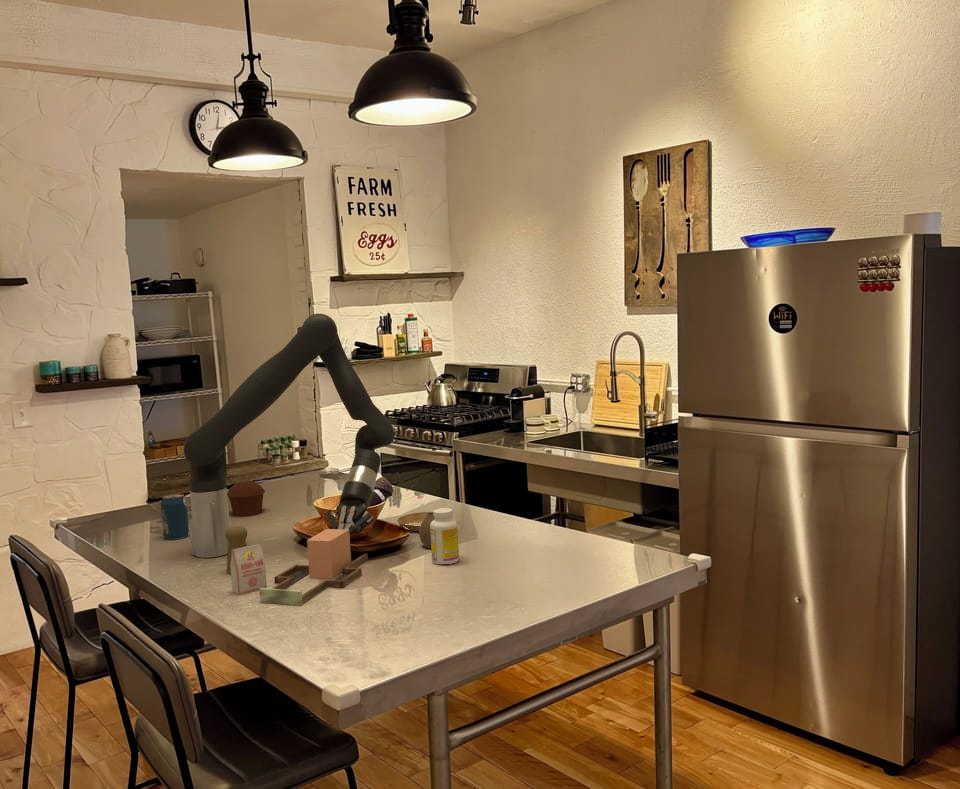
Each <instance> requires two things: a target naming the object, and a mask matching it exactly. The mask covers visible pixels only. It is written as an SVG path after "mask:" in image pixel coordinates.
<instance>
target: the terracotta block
mask: <svg viewBox="0 0 960 789" xmlns="http://www.w3.org/2000/svg"><path fill="white" fill-rule="evenodd" d="M306 544H307V545H306V546H307V560H308V565H309V574H308V576H309V578H314V579H316V578H317V579H329V580H334V579H335V578H337V577H338V576H340V575H341V573H342V574H343V571H342V568H344V567H345V566H347V565H348V564H350V563H351V562H352V554H351V553H352V552H351V536H349V530H342V529H333V528H326V529H324V530H323V531H321V532H319V533H317V534H315V535H313V536H312V537H310V538H308V539H307V540H306Z"/></svg>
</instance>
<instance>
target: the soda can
mask: <svg viewBox="0 0 960 789" xmlns="http://www.w3.org/2000/svg"><path fill="white" fill-rule="evenodd" d="M187 503H188V502H187V500H186V497H185V495H184V494H183V493H170V494H165V495H163V496H162V498H161V501H160V511H161V513H160V514H161V525H162V534H163V537H164V538H165V539H166V540H170V541H171V540H172V541H173V540H175V541H176V540H180V539H181V540H182V539H185V538H187V536H188V535H189V533H190V526H189V517H188V515H189V514H188V507H187V506H188V505H187Z"/></svg>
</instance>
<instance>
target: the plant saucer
mask: <svg viewBox="0 0 960 789" xmlns="http://www.w3.org/2000/svg"><path fill="white" fill-rule="evenodd" d="M430 512H431V511H421V512H413V513H409V514H405V515H402V516H400V517H398V518H397V520H396V521H397V523H398V524H399V525H400V526H401V527H402V526H404V527H406V528H408V529H409V530H410V531H409V532H413V531H419V530H420V526H414V525H405V524H409V523H414V522H415V523H419V522H420V523H421V521H422V522H423V520H424V519H425V517H426V515H427V513H430Z"/></svg>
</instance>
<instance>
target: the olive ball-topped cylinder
mask: <svg viewBox="0 0 960 789" xmlns="http://www.w3.org/2000/svg"><path fill="white" fill-rule="evenodd" d="M225 536H226V539H227V540H228V554H227V558H226V560H227V561H226V574H227V573H228V575H231V568H230V564H231V555H232V550H233V549H238V548H243V547H247V545H248V544H247V540H246V539H247V538H248V529H247V528H246V527H245V526H243V525H235V526H230V528H228V529H227V530H226V533H225Z"/></svg>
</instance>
